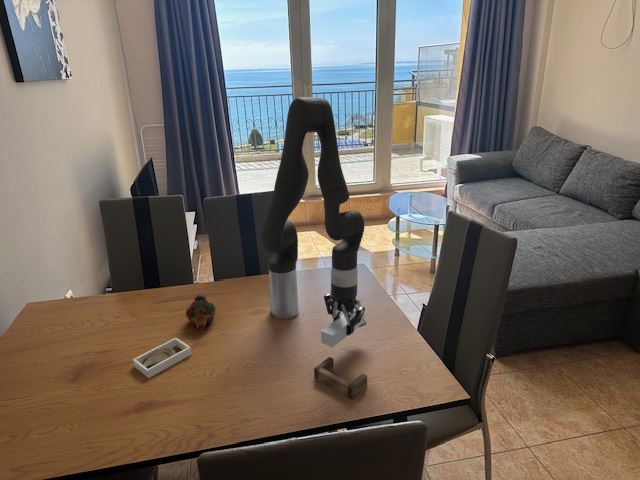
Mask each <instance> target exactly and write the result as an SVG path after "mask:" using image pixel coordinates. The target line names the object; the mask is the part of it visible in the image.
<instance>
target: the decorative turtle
mask: <svg viewBox="0 0 640 480" xmlns="http://www.w3.org/2000/svg"><path fill="white" fill-rule="evenodd" d="M215 315H216V306H215V304H213V302H211V301H209V300H207V297H206V295H205V294H203V293H201V292H200V293H198V294H196V295H195V297H194V301H193V302H191V303H190V304H189V305H188V306H187V308H186V311H185V316H186V318H187V319H188V320H189V322H190V323H191V325H193V326H194V327H195V326H196V328H197V329H199V330H200V329H202V330H203V329H204V328H205V327H206V325H207V324H211V323H212V322H213V320H214V317H215Z"/></svg>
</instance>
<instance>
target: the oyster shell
mask: <svg viewBox="0 0 640 480" xmlns="http://www.w3.org/2000/svg"><path fill="white" fill-rule="evenodd" d="M177 353H178V352H177V350H175V349H174V348H170V347H168V348H164V349H159V350H157V351H155V352H154V353H152V354H151V355H149V356H148V357H147V358H146V359H145V360H144V361H143V362H142V363H141V364H142V365H144V366H145V367H146V368H148V367H149V366H154V365H156V364H158V363H160V362H162V361H164V360H166V359H167V358H169V357H171V356H173V355H175V354H177Z"/></svg>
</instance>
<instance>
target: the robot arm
mask: <svg viewBox="0 0 640 480" xmlns="http://www.w3.org/2000/svg"><path fill="white" fill-rule="evenodd" d="M308 133H316V135H317V137H318V139H319V144H320V155H319V156H320V157H319V162H318V166H317V174H316V175H317V181H318V182H317V183H318V185H319V188H320V192H321V195H322V198H323V207H324V208H323V209H324V228H325V232H326V234H327V236H328V237H329V238H330V239H331V240H333V241H336V242H337V241H340V242H339V243H337V244H335V245H334V246H333V247H332V250H331V269H330V292H328V293H327V294H325V295H323V301H324V304H325V307H326V312H327V314H328V315H331V316H332V321H333V322H334V321H335V320H337V319H338V318H339V317H341V316H342V315H341V314H342V313H343V314H344V317H345V318H346V321H347V335H348V336H349V337H350V336H351V335H352V334H353V333H354V332H355V330H354V326H355V325H357V324H358V323H360V321H361V319H362V316H363V314H364V315H365V311H366V308H365V307H364V306H361V307H359V306H358V305H357V297H358V296H357V295H358V278H359V277H358V276H359V273H358V251H359V248H360V247H361V242H362V239H363V236H364V231H365V220H364V217H363V215H362V214H361V213H360V211H358V210H356V209H355V210H354V209H353V210H352V209H351V210H347V211H344V212H340V207H341V205H342V204H344V203H347V202H348V201H349V199H350V193H349V189H348V185H347V182H346V179H345V176H344V172H343V168H342V164H341V160H340V154H339V147H338V139H337V138H338V137H337V131H336V125H335V117H334V112H333V110H332V106H331V104H330V102H329V101H328V100H327V99H326V98H324V97H318V96H317V97H316V96H315V97H314V96H313V97H312V96H303V97H301V96H299V97H296V98H294V99H293V100H292V101H291V102H290V105H289V107H288V112H287V117H286V124H285V133H284V141H283V147H282V152H281V157H280V162H279V167H278V170H277V174H276V178H275V184H274V188H273V194H272V195H271V200H270V204H269V208H268V212H267V215H266V217H265V221H264V223H263V226H262V228H261V232H260V241H261V245H262V248H263V249H264V251H266V253H269V254H273V255H272V256H271V257H270V258H269V260H268V262H267V266H268V277H269V287H267V288H268V289H267V290H268V299H269V311H270V313H271V314H272V316H273V317H275V318H277V319H279V320H280V319H284V320H286V319H292V318H294V317H296V316H297V315H298V314H299V296H298V295H299V293H298V277H297V274H298V273H297V262H298V260H299V259H298V257H299V238H298V231H297V228H296V226H295V224H294V223H293V222H292V221H290V220H289V217H290V216H291V214H292V213H293V211H294V210H295V209H296V207H297V206H298V205H299V204H300V202H301V201H302V199H303V196H304V195H305V192H306V189H307V185H308V181H309V178H310V177H309V176H310V175H309V174H310V173H309V168H308V165H307V161H306V159H305V157H304V153H303V146H304V142H305V138H306V136H307V134H308ZM354 308H355V310H354ZM349 312H350V313H349ZM354 315H355V316H354ZM350 317H351V320H350ZM348 336H347V337H348Z"/></svg>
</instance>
